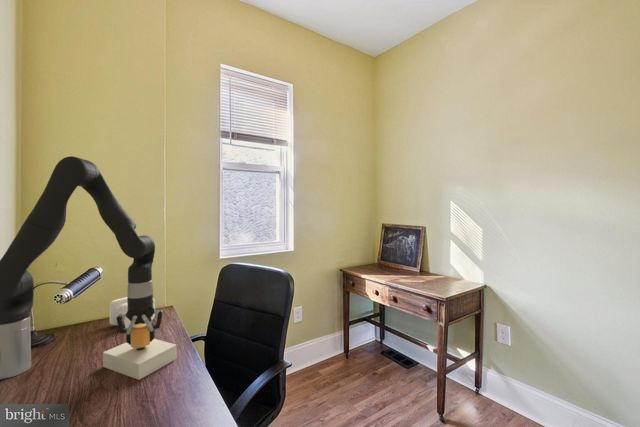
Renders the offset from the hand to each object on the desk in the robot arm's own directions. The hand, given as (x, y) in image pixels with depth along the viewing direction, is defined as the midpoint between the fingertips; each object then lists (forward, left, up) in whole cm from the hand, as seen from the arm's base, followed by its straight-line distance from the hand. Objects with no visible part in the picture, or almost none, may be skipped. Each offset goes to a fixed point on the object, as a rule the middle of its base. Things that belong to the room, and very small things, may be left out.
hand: (141, 342), depth 102 cm
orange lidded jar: (0, 0, -1) cm, 1 cm away
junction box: (0, 0, -7) cm, 7 cm away
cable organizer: (+21, +35, -8) cm, 42 cm away
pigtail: (0, 0, -2) cm, 2 cm away
